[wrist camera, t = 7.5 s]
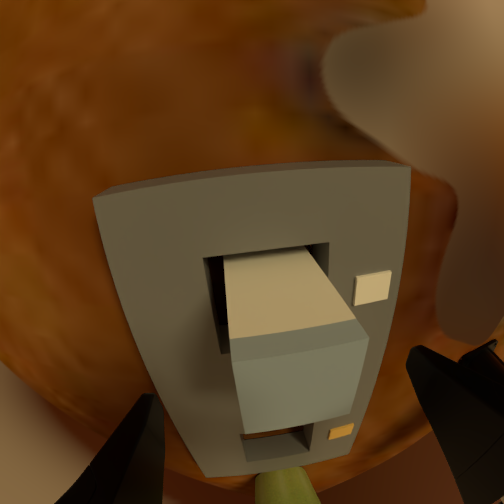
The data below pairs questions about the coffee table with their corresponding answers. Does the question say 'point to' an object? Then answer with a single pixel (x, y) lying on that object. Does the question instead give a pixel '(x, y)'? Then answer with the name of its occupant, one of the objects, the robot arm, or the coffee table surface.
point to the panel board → (240, 241)
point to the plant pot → (285, 487)
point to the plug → (290, 340)
